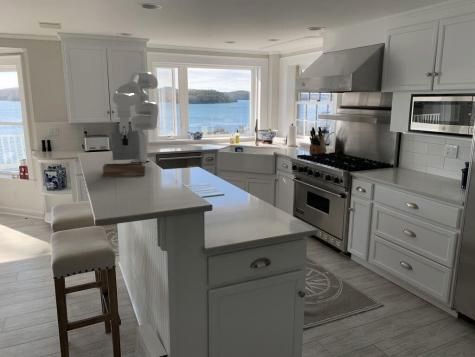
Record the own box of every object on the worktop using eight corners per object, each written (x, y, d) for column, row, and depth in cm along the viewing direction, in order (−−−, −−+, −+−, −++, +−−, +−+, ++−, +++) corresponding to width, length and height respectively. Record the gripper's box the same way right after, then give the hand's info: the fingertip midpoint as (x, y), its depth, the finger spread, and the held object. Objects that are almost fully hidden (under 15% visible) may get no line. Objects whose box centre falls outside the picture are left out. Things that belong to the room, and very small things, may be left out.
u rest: (105, 172, 223) (105, 163, 222) (145, 171, 228) (144, 162, 227) (103, 176, 211) (102, 167, 210) (144, 175, 217) (144, 166, 215)
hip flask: (139, 158, 236) (137, 126, 231) (139, 159, 232) (138, 127, 227) (112, 159, 231) (110, 126, 226) (112, 160, 227) (110, 127, 222)
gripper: (118, 113, 232) (120, 142, 236) (116, 115, 216) (118, 146, 221) (131, 113, 234) (132, 142, 238) (129, 115, 218) (131, 146, 222)
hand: (125, 144), depth 229 cm, fingers closed on hip flask, 4 cm apart
